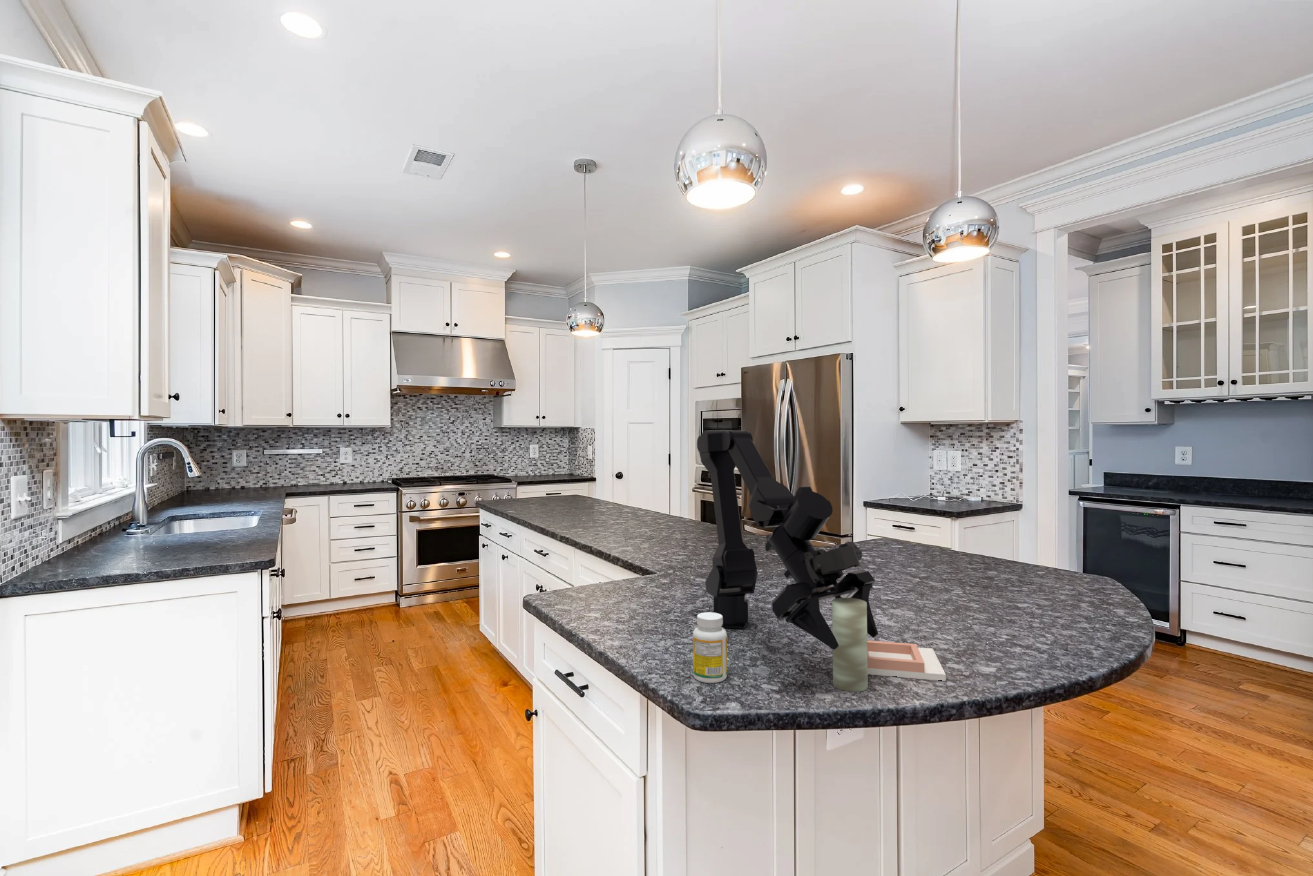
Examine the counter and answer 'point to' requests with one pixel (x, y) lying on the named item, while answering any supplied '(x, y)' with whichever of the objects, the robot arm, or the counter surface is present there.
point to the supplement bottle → (710, 648)
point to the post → (850, 644)
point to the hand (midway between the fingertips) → (856, 641)
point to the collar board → (903, 661)
